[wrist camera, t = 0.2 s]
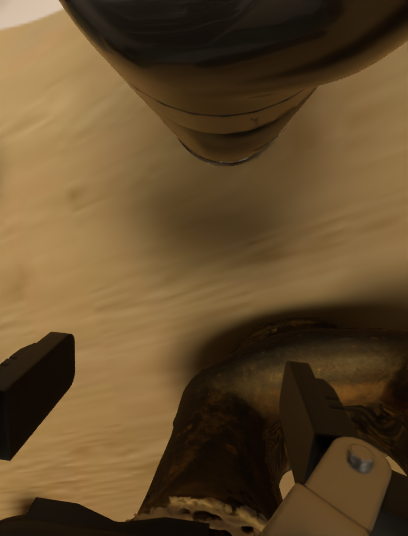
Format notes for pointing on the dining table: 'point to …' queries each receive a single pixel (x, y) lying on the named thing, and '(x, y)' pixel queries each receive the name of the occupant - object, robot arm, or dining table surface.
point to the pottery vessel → (272, 420)
